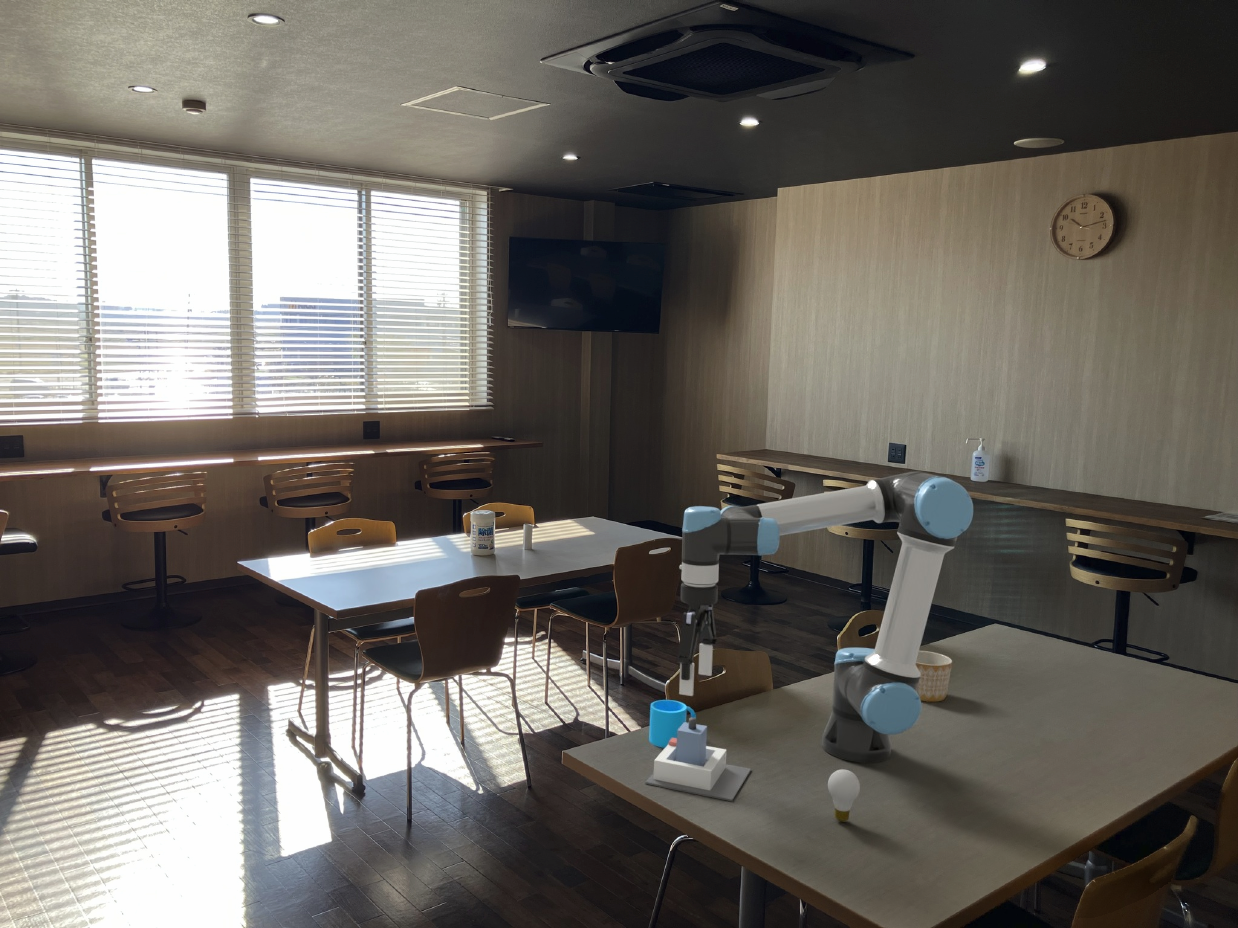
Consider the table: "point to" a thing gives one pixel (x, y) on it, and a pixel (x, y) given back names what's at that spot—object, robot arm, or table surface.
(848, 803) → the light bulb
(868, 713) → the robot arm
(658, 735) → the mug
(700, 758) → the plug
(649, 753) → the table surface
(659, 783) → the socket
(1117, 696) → the table surface
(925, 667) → the planter
